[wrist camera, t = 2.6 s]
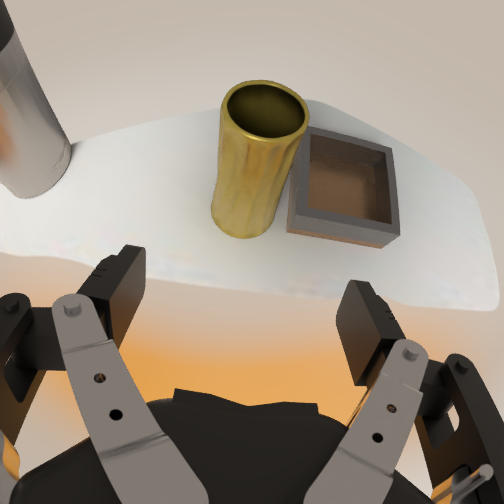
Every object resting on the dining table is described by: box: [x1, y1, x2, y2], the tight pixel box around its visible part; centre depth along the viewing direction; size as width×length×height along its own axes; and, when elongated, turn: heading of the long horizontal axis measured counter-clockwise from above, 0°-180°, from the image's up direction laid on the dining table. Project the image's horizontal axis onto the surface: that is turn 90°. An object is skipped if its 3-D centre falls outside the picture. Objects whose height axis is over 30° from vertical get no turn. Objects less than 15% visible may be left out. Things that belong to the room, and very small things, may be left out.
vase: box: [211, 80, 309, 239], centre depth 24 cm, size 6×6×14 cm
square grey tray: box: [286, 126, 400, 249], centre depth 31 cm, size 10×10×4 cm
